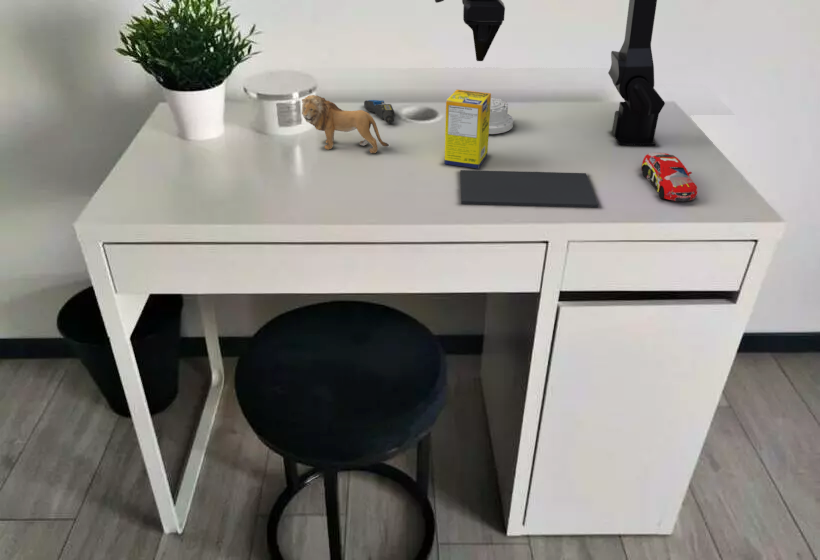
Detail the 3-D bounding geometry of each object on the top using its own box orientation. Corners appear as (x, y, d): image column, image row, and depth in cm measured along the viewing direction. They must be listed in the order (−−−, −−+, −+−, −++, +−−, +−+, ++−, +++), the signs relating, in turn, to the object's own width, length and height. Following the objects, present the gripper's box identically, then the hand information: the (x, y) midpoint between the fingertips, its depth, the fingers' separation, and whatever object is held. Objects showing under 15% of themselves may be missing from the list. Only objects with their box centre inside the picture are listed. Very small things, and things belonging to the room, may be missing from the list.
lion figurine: (301, 151, 121) (297, 100, 116) (307, 140, 125) (303, 89, 120) (387, 154, 120) (386, 103, 115) (390, 142, 124) (389, 92, 119)
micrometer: (363, 97, 139) (388, 96, 140) (363, 106, 140) (388, 105, 141) (370, 117, 129) (397, 116, 130) (370, 127, 130) (397, 126, 131)
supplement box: (487, 155, 120) (492, 92, 114) (478, 169, 115) (483, 104, 109) (453, 151, 121) (456, 88, 115) (443, 164, 117) (445, 99, 111)
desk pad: (585, 175, 113) (586, 173, 113) (597, 207, 104) (598, 204, 104) (460, 172, 114) (460, 169, 114) (461, 204, 105) (461, 201, 105)
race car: (699, 205, 105) (706, 181, 103) (663, 206, 105) (668, 181, 103) (670, 168, 116) (675, 145, 114) (637, 168, 116) (641, 145, 114)
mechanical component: (459, 135, 127) (515, 136, 127) (461, 111, 125) (517, 112, 125) (457, 115, 136) (510, 116, 135) (458, 93, 133) (512, 93, 133)
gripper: (434, -58, 119) (431, 37, 127) (432, -39, 103) (429, 68, 112) (500, -57, 118) (494, 38, 127) (508, -38, 103) (500, 70, 111)
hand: (478, 53), depth 119 cm, fingers open, 9 cm apart
